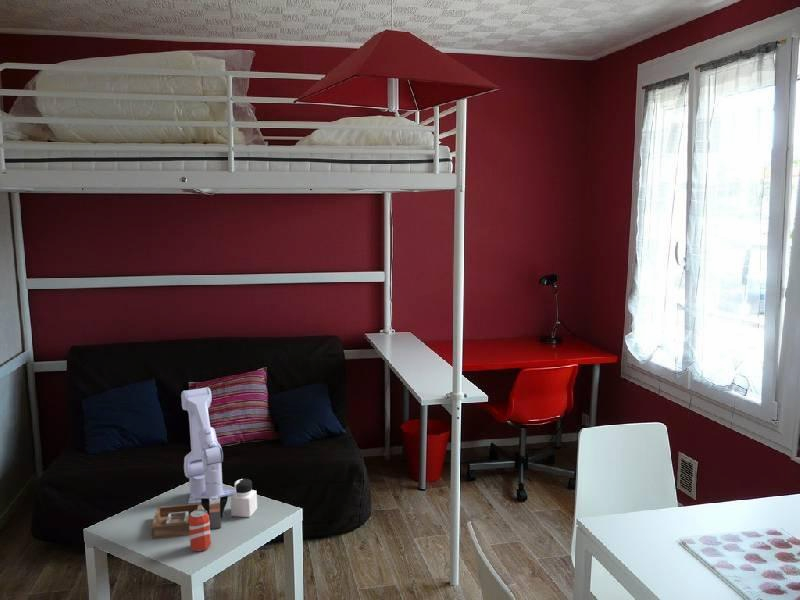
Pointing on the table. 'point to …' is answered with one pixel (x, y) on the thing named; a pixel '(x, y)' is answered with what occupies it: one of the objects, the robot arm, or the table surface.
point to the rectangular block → (215, 515)
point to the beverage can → (199, 530)
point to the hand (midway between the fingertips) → (215, 517)
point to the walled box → (173, 520)
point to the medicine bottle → (244, 499)
